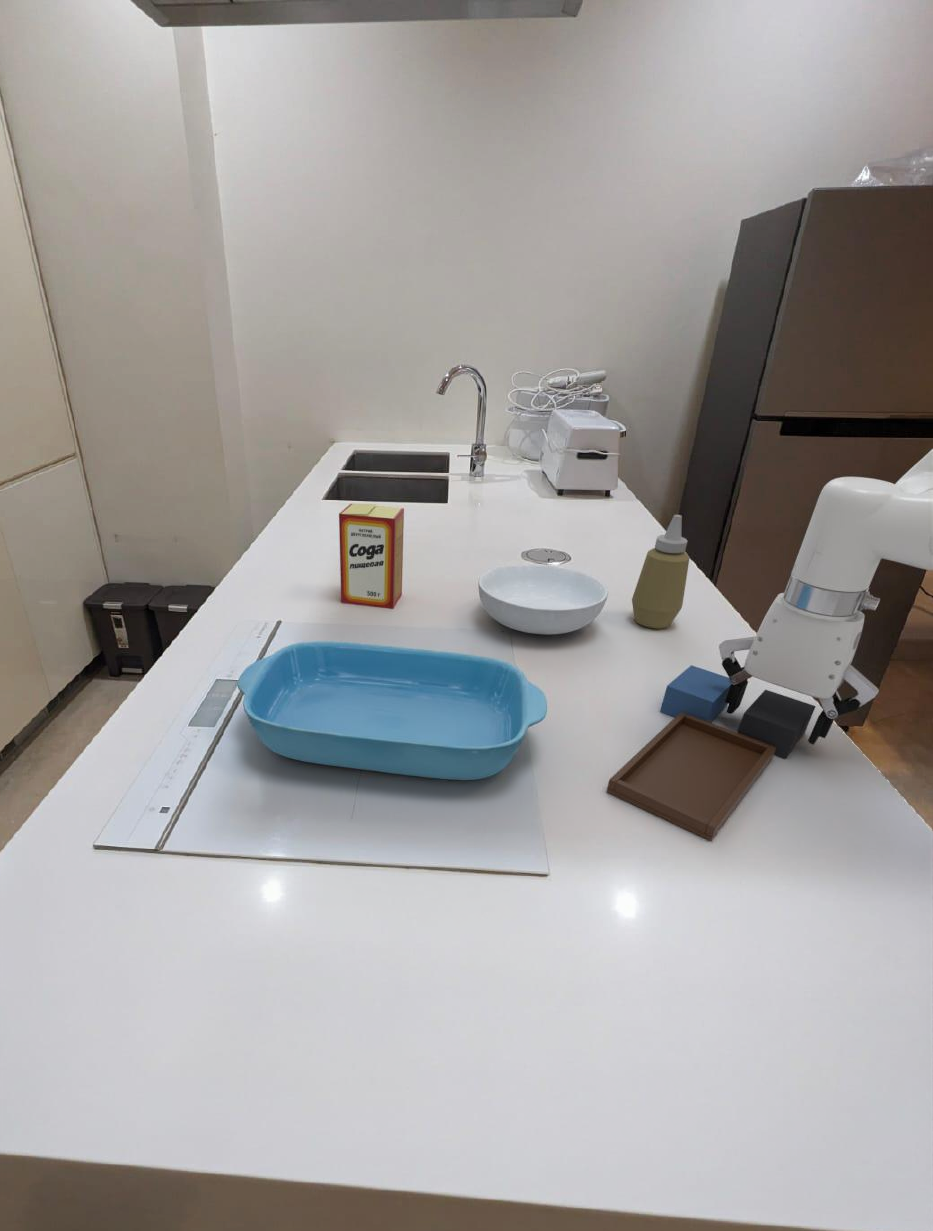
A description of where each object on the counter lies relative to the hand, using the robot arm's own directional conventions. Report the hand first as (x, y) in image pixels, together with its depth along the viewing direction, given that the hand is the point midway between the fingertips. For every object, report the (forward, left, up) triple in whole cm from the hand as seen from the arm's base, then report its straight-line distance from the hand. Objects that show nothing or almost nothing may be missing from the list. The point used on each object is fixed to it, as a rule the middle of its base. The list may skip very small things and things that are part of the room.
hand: (771, 724), depth 84 cm
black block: (0, 0, -2) cm, 2 cm away
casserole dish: (+35, +33, -2) cm, 48 cm away
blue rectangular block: (+9, 0, -2) cm, 10 cm away
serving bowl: (+40, -9, -2) cm, 41 cm away
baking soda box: (+67, +3, -2) cm, 67 cm away
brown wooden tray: (+4, +15, -2) cm, 15 cm away
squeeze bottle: (+26, -23, -2) cm, 35 cm away
